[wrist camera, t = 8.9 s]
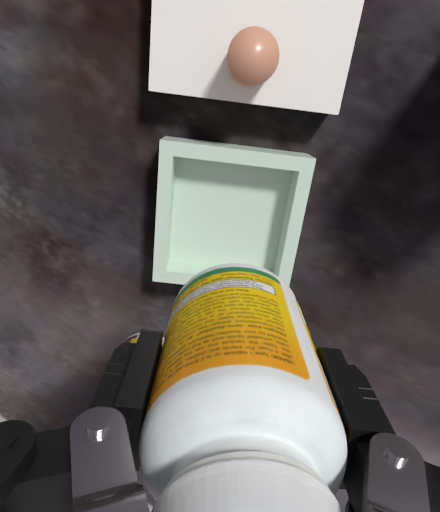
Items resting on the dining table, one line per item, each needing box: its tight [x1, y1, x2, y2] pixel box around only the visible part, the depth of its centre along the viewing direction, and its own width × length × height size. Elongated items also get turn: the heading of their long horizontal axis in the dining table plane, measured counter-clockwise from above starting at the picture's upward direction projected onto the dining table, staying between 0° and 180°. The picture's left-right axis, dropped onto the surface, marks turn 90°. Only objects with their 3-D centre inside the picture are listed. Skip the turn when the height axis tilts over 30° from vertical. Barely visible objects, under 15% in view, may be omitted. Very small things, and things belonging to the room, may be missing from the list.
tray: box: [152, 136, 316, 287], centre depth 29 cm, size 11×11×3 cm
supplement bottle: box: [139, 263, 347, 512], centre depth 11 cm, size 5×5×10 cm
